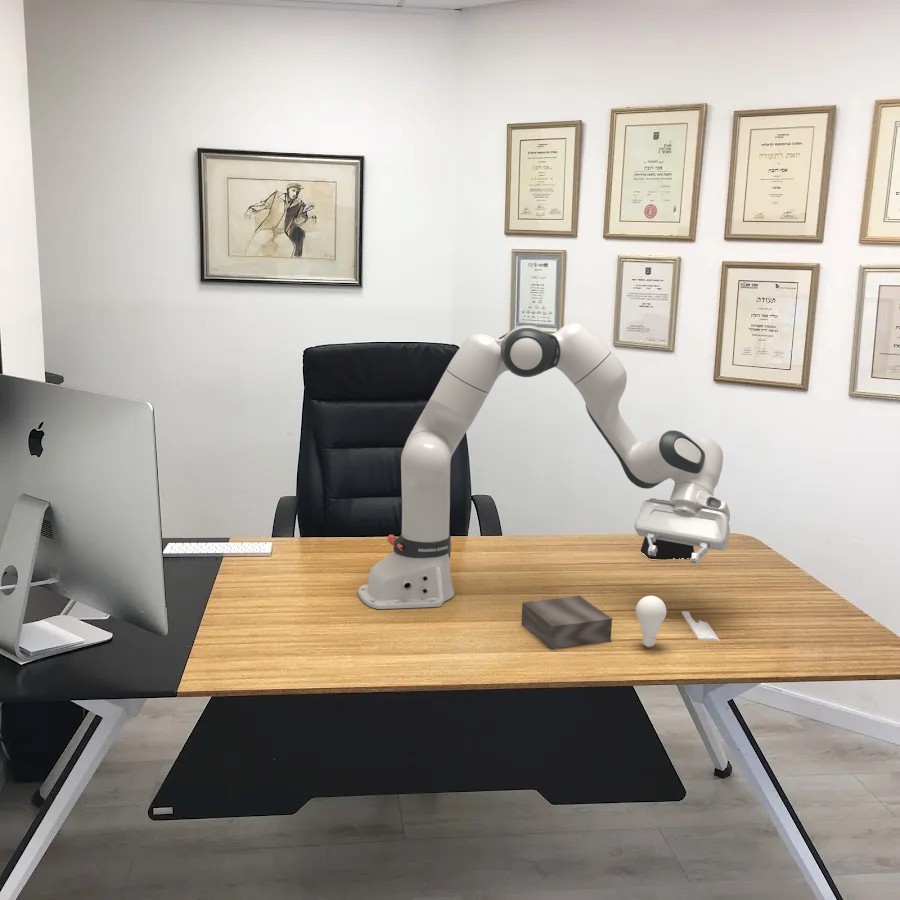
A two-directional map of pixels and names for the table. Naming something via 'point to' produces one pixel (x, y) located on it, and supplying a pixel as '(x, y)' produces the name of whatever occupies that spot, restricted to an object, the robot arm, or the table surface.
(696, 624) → the white plastic blade
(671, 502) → the robot arm
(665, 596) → the table surface
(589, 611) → the charcoal block
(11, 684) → the table surface
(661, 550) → the sculpture
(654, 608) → the lightbulb
